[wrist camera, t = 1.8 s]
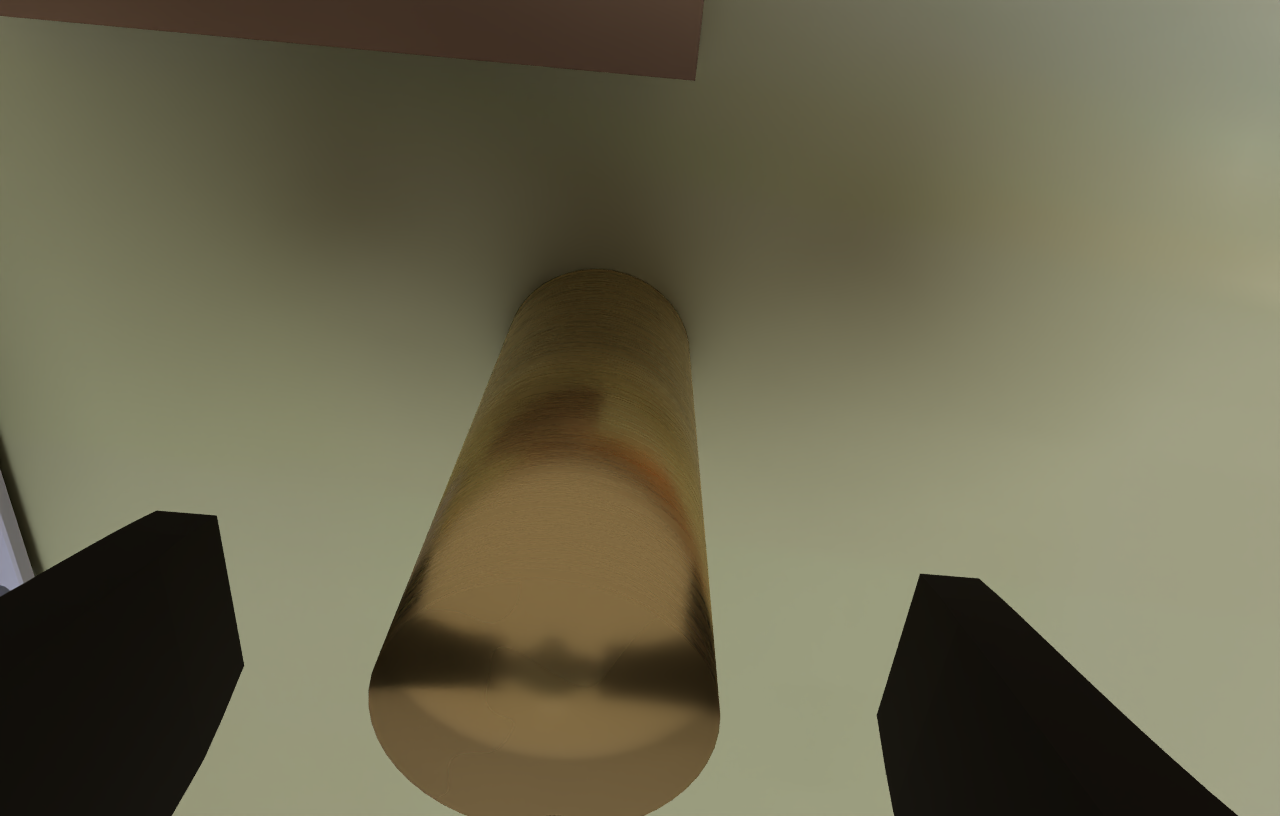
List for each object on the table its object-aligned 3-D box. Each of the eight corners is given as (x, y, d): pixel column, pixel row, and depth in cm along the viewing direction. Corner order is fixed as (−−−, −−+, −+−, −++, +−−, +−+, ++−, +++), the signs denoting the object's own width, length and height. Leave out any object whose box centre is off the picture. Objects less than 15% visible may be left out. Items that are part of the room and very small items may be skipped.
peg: (679, 442, 16) (698, 843, 8) (506, 428, 15) (379, 820, 8) (699, 277, 14) (743, 597, 7) (508, 260, 14) (355, 567, 7)
